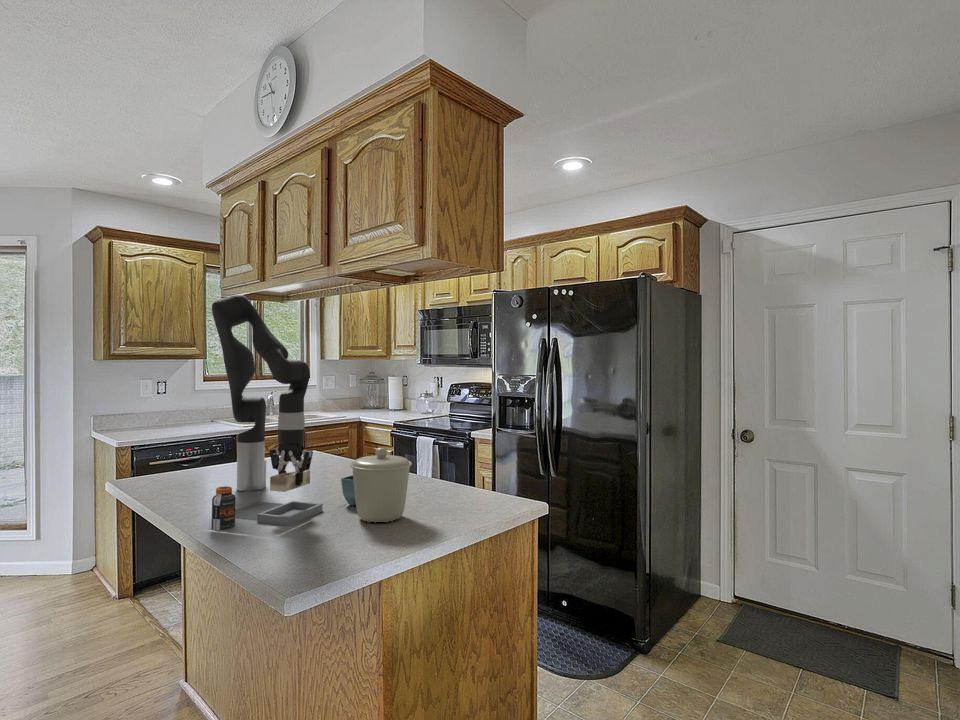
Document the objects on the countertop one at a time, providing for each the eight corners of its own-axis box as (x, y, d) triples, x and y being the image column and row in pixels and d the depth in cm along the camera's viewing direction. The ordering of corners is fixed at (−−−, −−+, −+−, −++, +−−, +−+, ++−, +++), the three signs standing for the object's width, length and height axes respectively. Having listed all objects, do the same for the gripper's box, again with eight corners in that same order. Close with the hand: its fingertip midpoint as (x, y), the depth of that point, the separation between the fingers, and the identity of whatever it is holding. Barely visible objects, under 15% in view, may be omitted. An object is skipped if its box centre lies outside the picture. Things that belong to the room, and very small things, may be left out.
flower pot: (339, 505, 177) (340, 478, 177) (357, 499, 185) (358, 473, 185) (361, 509, 173) (361, 481, 173) (378, 503, 181) (379, 476, 181)
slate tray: (292, 509, 173) (292, 500, 173) (322, 512, 170) (322, 503, 170) (257, 523, 158) (257, 514, 158) (289, 527, 154) (289, 517, 154)
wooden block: (284, 492, 157) (284, 477, 157) (270, 490, 159) (270, 476, 159) (309, 483, 168) (310, 469, 169) (295, 482, 170) (296, 468, 170)
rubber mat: (259, 502, 180) (259, 501, 180) (295, 506, 176) (295, 505, 176) (217, 517, 163) (217, 515, 163) (256, 521, 159) (256, 520, 159)
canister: (355, 530, 152) (356, 454, 152) (344, 513, 168) (345, 444, 168) (418, 523, 159) (419, 450, 159) (402, 508, 176) (402, 442, 176)
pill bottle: (219, 532, 149) (220, 491, 149) (207, 529, 152) (207, 488, 152) (239, 527, 154) (240, 486, 154) (226, 523, 157) (227, 484, 157)
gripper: (262, 427, 162) (262, 485, 162) (304, 429, 158) (303, 489, 158) (279, 424, 169) (278, 480, 169) (319, 427, 165) (318, 483, 165)
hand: (290, 484), depth 164 cm, fingers closed on wooden block, 5 cm apart
